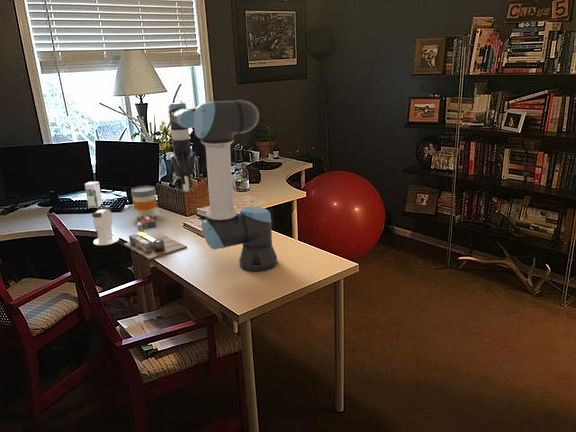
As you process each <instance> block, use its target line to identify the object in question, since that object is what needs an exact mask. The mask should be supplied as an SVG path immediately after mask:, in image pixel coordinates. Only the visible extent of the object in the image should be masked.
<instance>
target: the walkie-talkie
mask: <svg viewBox="0 0 576 432" xmlns="http://www.w3.org/2000/svg"><path fill="white" fill-rule="evenodd" d="M137 220H138V222H137V223H136V226H137V228H138V230H140V231H141V232H144V233H145V230H144V229H148V228H149V229H150V228H155V227H156V226H157V223H156V220H155V219H154V217H153V218H152V216H150V215H148V216H142V217H140V218H138V219H137Z"/></svg>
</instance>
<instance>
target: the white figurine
mask: <svg viewBox="0 0 576 432" xmlns="http://www.w3.org/2000/svg"><path fill="white" fill-rule="evenodd" d="M91 215H92V218H93V226H94V229H95V234H96V235H97V238H95V239H94V240H93V245H95V246H108V245H112V244H115V243H118V241H120V237H119V236H117V235H113V229H112V225H113V219H114V218H113V215H112V207H111V206H102V207H101V209H97V211H95V212H92V214H91Z"/></svg>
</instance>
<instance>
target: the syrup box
mask: <svg viewBox="0 0 576 432" xmlns="http://www.w3.org/2000/svg"><path fill="white" fill-rule="evenodd" d="M84 189H85V194H86V199H87V204H88V205H87V207H88V209H89V208H98V207H99V206H100V205H101V204H102V205H103V199H102V194H101V187H100V182H99V181H88V182H86V183H84ZM98 209H99V208H98Z"/></svg>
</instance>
